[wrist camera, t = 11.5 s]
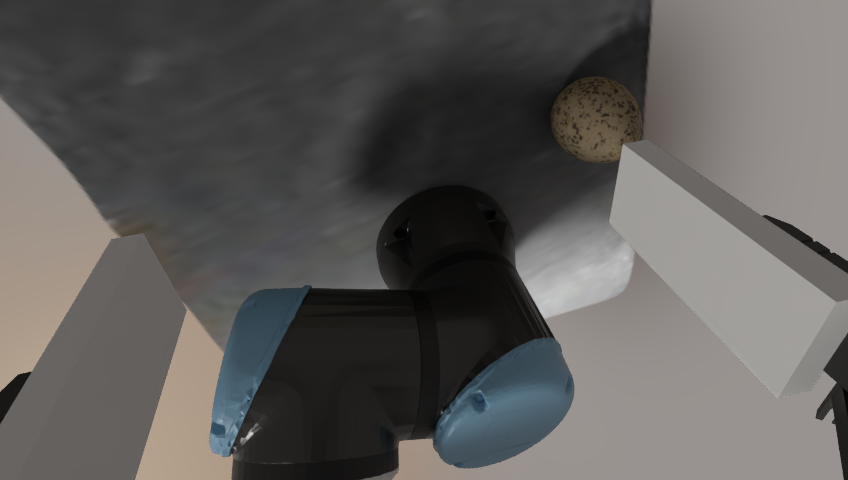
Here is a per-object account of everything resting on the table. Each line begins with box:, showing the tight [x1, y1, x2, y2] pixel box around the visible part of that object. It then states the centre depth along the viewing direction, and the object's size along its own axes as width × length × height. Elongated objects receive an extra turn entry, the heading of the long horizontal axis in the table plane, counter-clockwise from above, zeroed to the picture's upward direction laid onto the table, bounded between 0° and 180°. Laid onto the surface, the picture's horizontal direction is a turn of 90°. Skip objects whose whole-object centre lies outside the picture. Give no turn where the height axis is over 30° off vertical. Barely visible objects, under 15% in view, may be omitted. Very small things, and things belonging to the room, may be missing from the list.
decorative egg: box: [551, 76, 642, 163], centre depth 41 cm, size 7×7×10 cm
